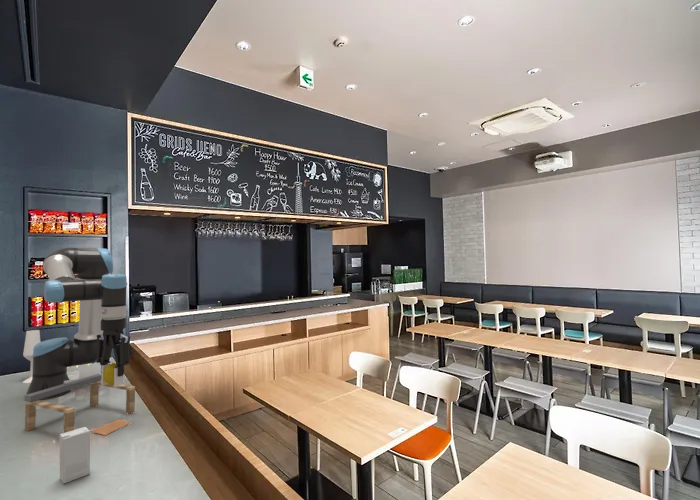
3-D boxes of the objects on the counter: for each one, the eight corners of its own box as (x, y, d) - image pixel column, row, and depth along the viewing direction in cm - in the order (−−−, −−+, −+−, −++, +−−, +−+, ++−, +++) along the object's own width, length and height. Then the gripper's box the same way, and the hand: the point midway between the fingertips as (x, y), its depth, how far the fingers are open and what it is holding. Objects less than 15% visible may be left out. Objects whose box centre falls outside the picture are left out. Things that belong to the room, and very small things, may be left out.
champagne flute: (25, 379, 177) (26, 330, 178) (42, 377, 180) (44, 329, 181) (19, 383, 171) (21, 332, 172) (37, 381, 174) (39, 331, 175)
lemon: (112, 389, 125) (113, 366, 125) (98, 387, 126) (99, 364, 126) (124, 383, 130) (126, 361, 130) (111, 381, 131) (113, 359, 131)
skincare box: (85, 468, 102) (86, 425, 103) (90, 474, 100) (91, 430, 100) (58, 478, 98) (59, 433, 98) (62, 485, 95) (63, 438, 95)
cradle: (24, 430, 125) (25, 401, 125) (94, 404, 148) (95, 379, 148) (67, 441, 117) (68, 410, 118) (134, 412, 140) (135, 386, 140)
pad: (90, 432, 124) (90, 431, 124) (118, 420, 133) (118, 419, 133) (105, 435, 121) (105, 434, 121) (132, 423, 131) (132, 422, 131)
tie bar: (24, 401, 125) (25, 391, 125) (97, 378, 148) (97, 370, 148) (30, 402, 124) (30, 392, 124) (102, 379, 147) (102, 371, 147)
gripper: (84, 318, 128) (83, 384, 127) (122, 321, 122) (121, 391, 121) (105, 315, 135) (104, 378, 134) (142, 317, 129) (141, 384, 128)
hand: (112, 384), depth 128 cm, fingers closed on lemon, 6 cm apart
